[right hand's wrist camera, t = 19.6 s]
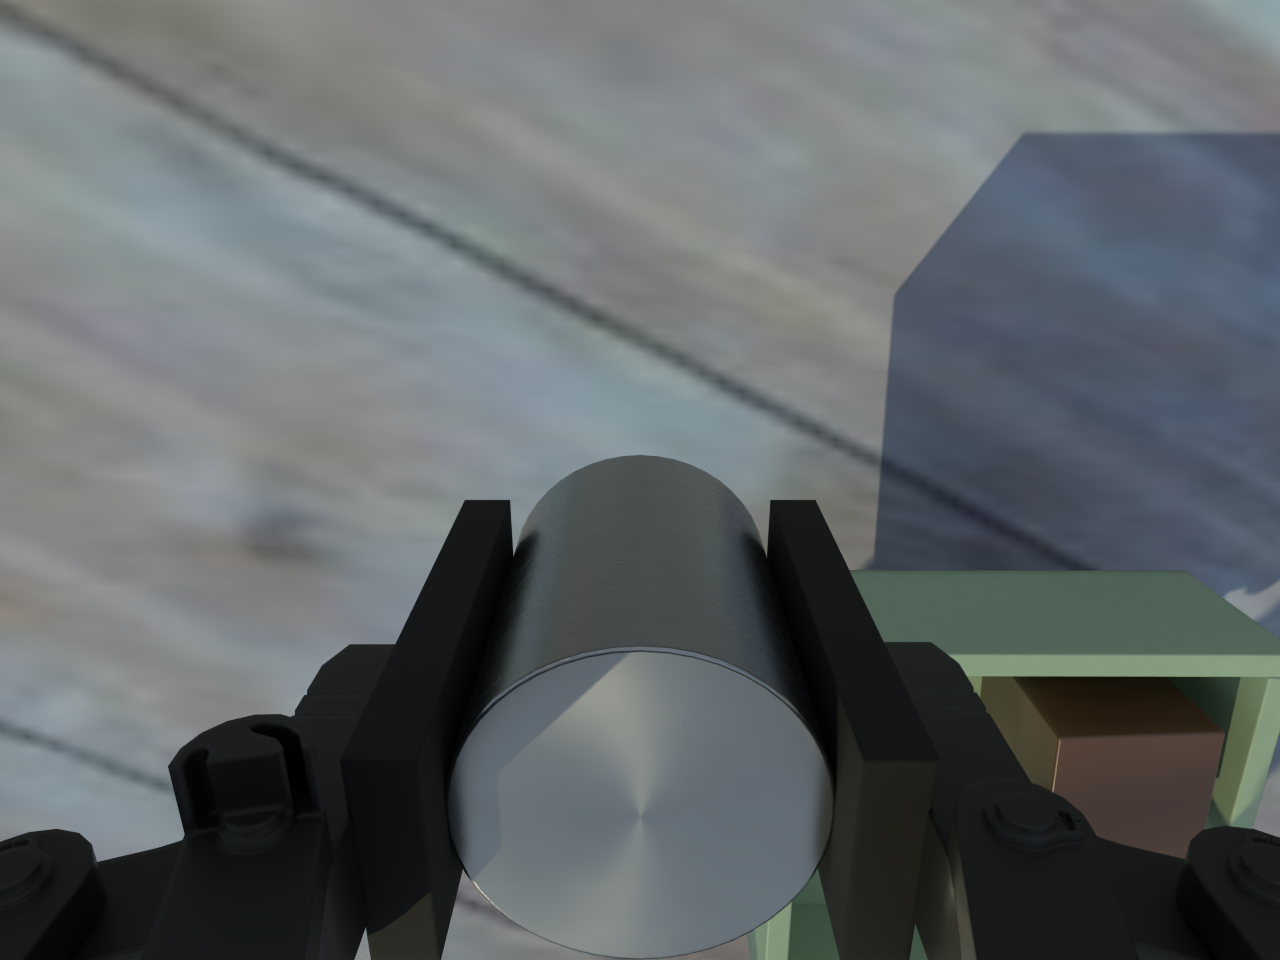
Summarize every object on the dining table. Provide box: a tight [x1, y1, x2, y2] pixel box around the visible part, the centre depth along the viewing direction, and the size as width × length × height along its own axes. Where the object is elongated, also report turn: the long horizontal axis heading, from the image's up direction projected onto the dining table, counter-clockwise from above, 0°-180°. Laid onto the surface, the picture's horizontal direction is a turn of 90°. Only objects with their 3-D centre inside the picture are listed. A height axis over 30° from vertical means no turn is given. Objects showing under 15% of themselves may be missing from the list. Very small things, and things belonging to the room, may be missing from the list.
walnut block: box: [980, 676, 1225, 859], centre depth 30 cm, size 5×5×6 cm
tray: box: [747, 570, 1280, 960], centre depth 32 cm, size 26×16×8 cm, turn 0°
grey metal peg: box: [445, 455, 836, 959], centre depth 13 cm, size 4×4×6 cm
